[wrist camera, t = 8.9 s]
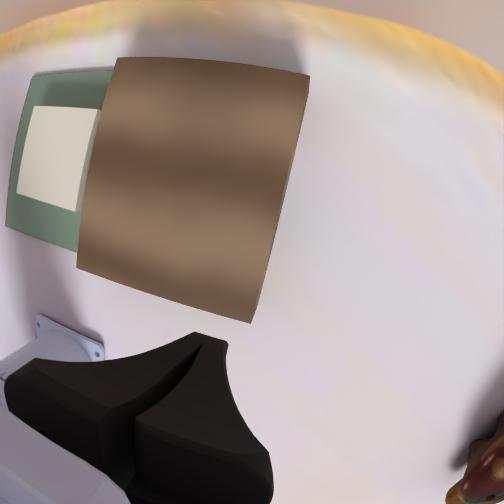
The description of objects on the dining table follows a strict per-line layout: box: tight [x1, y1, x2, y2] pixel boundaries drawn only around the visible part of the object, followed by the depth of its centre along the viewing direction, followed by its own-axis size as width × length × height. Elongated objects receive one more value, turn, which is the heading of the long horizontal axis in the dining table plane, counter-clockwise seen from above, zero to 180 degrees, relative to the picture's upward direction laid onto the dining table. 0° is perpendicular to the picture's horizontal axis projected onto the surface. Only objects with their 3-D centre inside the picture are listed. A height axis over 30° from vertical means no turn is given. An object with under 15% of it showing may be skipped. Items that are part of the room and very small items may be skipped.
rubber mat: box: [5, 70, 113, 252], centre depth 21 cm, size 14×12×1 cm
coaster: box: [16, 106, 101, 212], centre depth 19 cm, size 7×7×2 cm
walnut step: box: [76, 57, 310, 324], centre depth 18 cm, size 14×12×3 cm
